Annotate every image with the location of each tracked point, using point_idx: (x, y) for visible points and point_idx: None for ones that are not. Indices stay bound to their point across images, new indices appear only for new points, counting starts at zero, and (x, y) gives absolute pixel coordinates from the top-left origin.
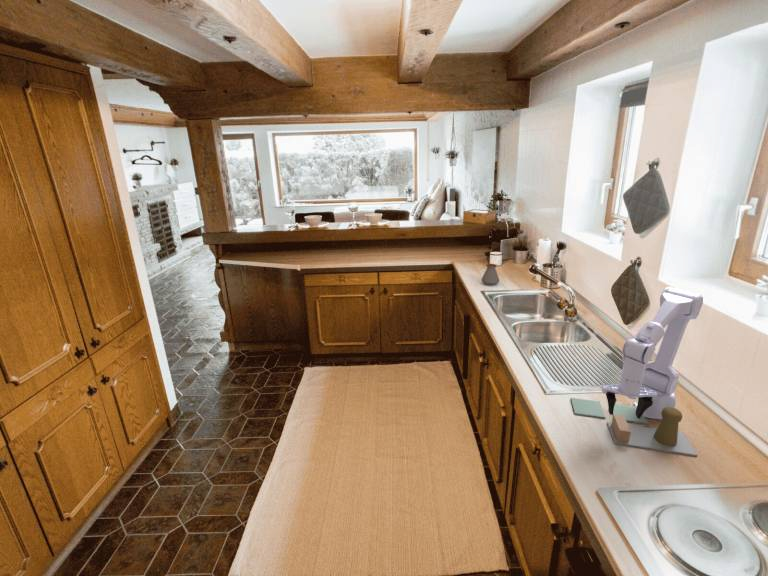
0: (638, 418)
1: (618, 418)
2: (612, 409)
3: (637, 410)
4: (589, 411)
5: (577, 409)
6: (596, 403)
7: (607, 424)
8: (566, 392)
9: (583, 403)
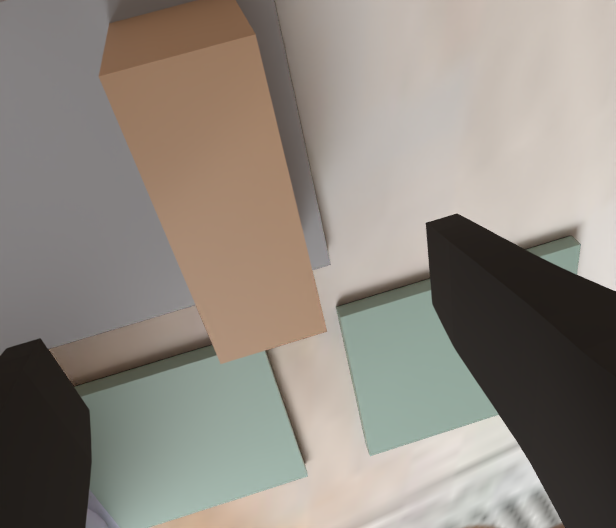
0: None
1: (274, 289)
2: (515, 269)
3: (61, 477)
4: None
5: None
6: (394, 427)
7: (323, 239)
8: None
9: None
